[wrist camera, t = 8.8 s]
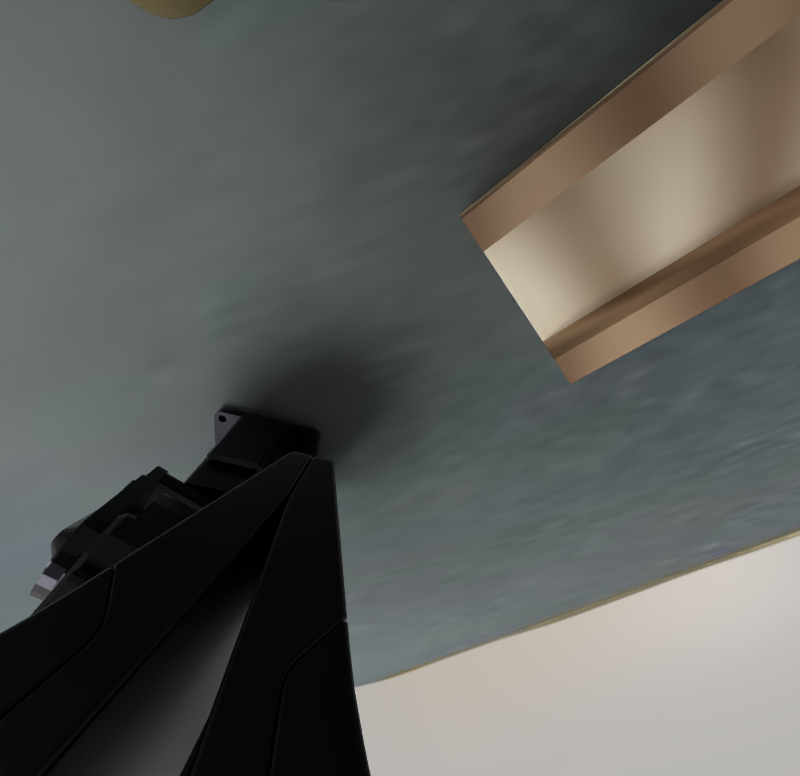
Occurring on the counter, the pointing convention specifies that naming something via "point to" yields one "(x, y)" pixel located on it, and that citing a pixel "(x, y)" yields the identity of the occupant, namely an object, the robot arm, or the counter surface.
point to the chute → (658, 191)
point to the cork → (171, 7)
